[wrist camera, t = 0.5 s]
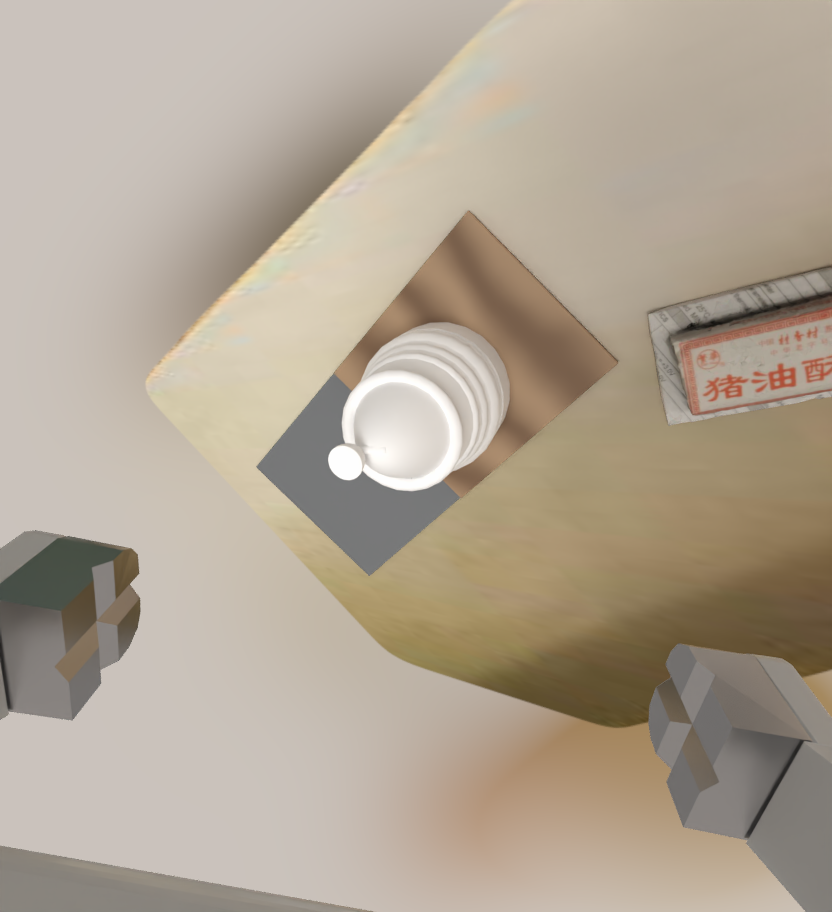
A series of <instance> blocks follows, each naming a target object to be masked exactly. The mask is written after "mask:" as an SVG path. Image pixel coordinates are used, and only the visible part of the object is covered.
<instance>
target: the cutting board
mask: <svg viewBox="0 0 832 912" xmlns="http://www.w3.org/2000/svg"><path fill="white" fill-rule="evenodd" d="M439 322H449V323H453V324H456V325H460V326H464V327H467V328H468V329H470V330H472V331H474V332H475V333H477V334H479V335H481V336H482V337H483V338H484V339H485V340H486V341H487V342H488V343H489V344H490V345H491V346H492V347H493V348H494V349H495V350H496V352H497V353H498V355H499V357H500V358H501V360H502V362H503V363H504V365H505V368H506V372H507V376H508V379H509V383H510V401H509V405H508V409H507V412H506V416H505V418H504V420H503V422H502V424H501V425H500V427H499V429H498V430H497V432H496V434H495V436H494V437H493V439H492V441H491V442H490V444H489V446H488V447H487V449H486V450H485V451H484V452H483V453H482V454H481V455H480V456H479V457H477V458H476V459H475V460H474V461H473V462H471V463H470V464H468V465H466V466H464V467H462V468H460V469H458V470H456V471H452V472H451V473H450V474H449V475H448V476H447V477H445V478H444V479H443V481H444V482H445V483H446V484H447V485H448V486H449V487H450V488H451V489H452V490H453V491H454V492H455V493H456V494H457V495H458V496H459V497H460V498H462V497H463V496H464V495H465V494H467V493H468V492H469V491H470V490H471V489H472V488H474V487H475V486H476V485H477V484H478V483H479V482H480V481H482V480H483V479H484V478H485V477H486V476H487V475H489V474H490V473H491V472H492V471H493V470H494V469H496V468H497V467H498V466H499V465H500V464H501V463H503V462H504V461H505V460H506V459H507V458H508V457H510V456H511V455H512V454H513V453H514V452H515V451H517V450H518V449H519V448H520V447H521V446H522V445H524V444H525V443H526V442H527V441H528V440H529V439H530V438H532V437H533V436H534V435H535V434H536V433H537V432H539V431H540V430H541V429H542V428H543V427H544V426H546V425H547V424H548V423H549V422H550V421H551V420H553V419H554V418H555V417H556V416H557V415H558V414H560V413H561V412H562V411H563V410H564V409H565V408H567V407H568V406H569V405H570V404H571V403H572V402H573V401H575V400H576V399H577V398H578V397H579V396H580V395H582V394H583V393H584V392H585V391H586V390H587V389H589V388H590V387H591V386H592V385H593V384H594V383H596V382H597V381H598V380H599V379H600V378H601V377H603V376H604V375H605V374H606V373H607V372H608V371H610V370H611V369H612V368H613V367H614V366H615V365H617V364H618V361H617V360H616V359H615V358H614V357H613V356H612V355H611V354H610V353H609V352H608V351H607V350H606V349H605V348H604V347H603V346H602V345H601V344H600V343H599V342H598V341H597V340H596V339H595V338H594V337H593V336H592V335H591V334H590V333H589V332H588V331H587V330H586V329H585V328H584V327H583V326H582V325H581V324H580V323H579V322H578V321H577V319H576V318H575V317H574V316H573V315H572V314H571V313H570V312H569V311H568V310H567V309H566V308H565V307H564V306H563V305H562V304H561V303H560V302H559V301H558V300H557V299H556V298H555V297H554V296H553V295H552V294H551V293H550V292H549V291H548V290H547V289H546V288H545V287H544V286H543V285H542V284H541V283H540V282H539V281H538V280H537V279H536V278H535V277H534V276H533V275H532V274H531V273H530V272H529V271H528V270H527V269H526V268H525V267H524V266H523V265H522V264H521V263H520V262H519V261H518V260H517V259H516V258H515V257H514V255H513V254H512V253H511V252H510V251H509V250H508V249H507V248H506V247H505V246H504V245H503V244H502V243H501V242H500V241H499V240H498V239H497V238H496V237H495V236H494V235H493V234H492V233H491V232H490V231H489V230H488V229H487V228H486V227H485V226H484V225H483V224H482V223H481V222H480V221H479V220H478V219H477V218H476V217H475V216H474V215H473V214H472V213H471V212H470V211H468V212H467V213H466V214H465V215H464V216H463V218H462V219H461V220H460V221H459V222H458V224H457V225H456V226H455V227H454V228H453V230H452V231H451V232H450V233H449V234H448V236H447V237H446V238H445V239H444V241H443V242H442V243H441V244H440V245H439V247H438V248H437V249H436V250H435V251H434V253H433V254H432V255H431V256H430V257H429V259H428V260H427V261H426V262H425V263H424V265H423V266H422V267H421V268H420V270H419V271H418V272H417V273H416V274H415V276H414V277H413V278H412V279H411V280H410V282H409V283H408V284H407V285H406V286H405V288H404V289H403V290H402V291H401V292H400V294H399V295H398V296H397V297H396V298H395V300H394V301H393V302H392V303H391V305H390V306H389V307H388V308H387V309H386V311H385V312H384V313H383V314H382V315H381V317H380V318H379V319H378V320H377V321H376V323H375V324H374V325H373V326H372V327H371V329H370V330H369V331H368V332H367V334H366V335H365V336H364V337H363V338H362V340H361V341H360V342H359V343H358V344H357V346H356V347H355V348H354V349H353V350H352V352H351V353H350V354H349V355H348V356H347V358H346V359H345V360H344V361H343V363H342V364H341V365H340V366H339V367H338V369H337V370H336V371H335V372H334V374H335V375H336V376H337V377H338V378H339V379H340V380H341V381H342V382H343V383H344V384H345V385H346V386H347V387H348V388H349V389H350V390H351V391H353V389H354V388H355V387H356V386H357V385H358V384H359V382H361V379H362V376H363V374H364V372H365V370H366V367H367V365H368V363H369V361H370V360H371V359H372V358H373V357H374V355H375V354H376V353H377V352H378V351H379V349H380V348H381V347H382V346H384V345H386V344H387V343H389V342H390V341H392V340H393V339H395V338H396V337H398V336H400V335H402V334H403V333H405V332H407V331H409V330H411V329H413V328H415V327H418V326H421V325H424V324H428V323H439Z"/></svg>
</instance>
